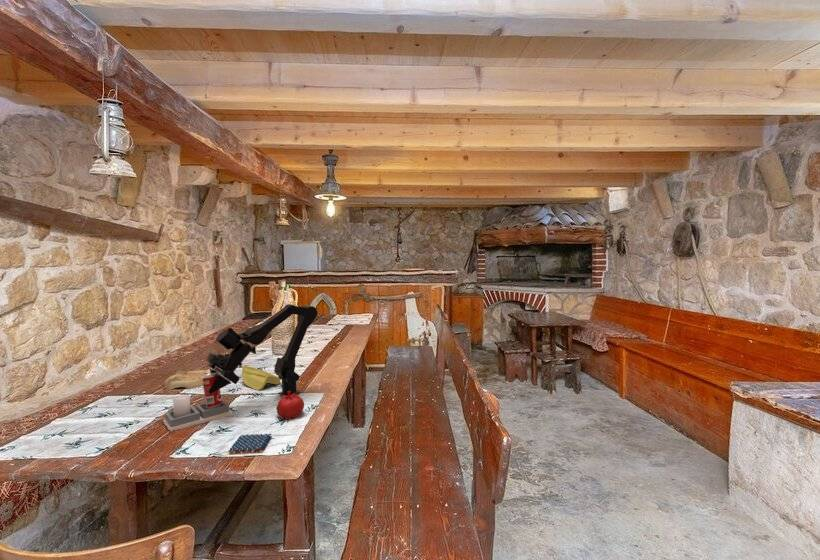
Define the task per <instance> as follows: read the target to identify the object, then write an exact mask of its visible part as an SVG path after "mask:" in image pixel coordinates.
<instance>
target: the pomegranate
mask: <svg viewBox="0 0 820 560" xmlns="http://www.w3.org/2000/svg"><path fill="white" fill-rule="evenodd" d="M290 392H291V391H288V392H287V393H288V396H284V395H279V397H280V400H279V401H278V402H277V405H276V413H277V416H279V417H280V418H282V419H287V420H289V419H293V418H296V417H297V416H298V417H299V415H301V413H302V412H303V411H304V408H305V401H304V399H303V398H302V397H301V395H299V394H295V393H294V394H295V395H294V394H293V395H290Z"/></svg>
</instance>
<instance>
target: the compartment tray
mask: <svg viewBox="0 0 820 560" xmlns="http://www.w3.org/2000/svg"><path fill="white" fill-rule="evenodd" d="M221 400H222V404H221V406H219V407H216V408H210V409H208V408H207V407H206V402H203V403H199V404H196V405H195V406H194V405H191V396H190V395H188V394H182V395H178V396H175V397H174V398H172V402H173V408H172V409H173V410H170V411H166V412H164V418H163V424H164V425H165V427H166V426H167V427H166V428H167V429H168V431H169V430H170V431H171V432H174V431H173V430H175V431H178V429H179V430H182V429H185V428H189V427H194V426H197V425H200V424H203V423H207V422H211V421H215V420H217V419H221V418H225V417H228V416H229V417H230V416H232V411H231V410H230V405H229V403H227V402H226V401H224V400H223V399H222V398H221ZM170 431H169V432H170Z"/></svg>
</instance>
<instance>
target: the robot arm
mask: <svg viewBox="0 0 820 560" xmlns="http://www.w3.org/2000/svg"><path fill="white" fill-rule="evenodd" d="M318 313H319V312H318V310H317V308H316V307H315V306H311V305H307V304H304V305H302V306H298V305H294V304H285V306H284V307H282V308H281V309H280V310H278V311H277V312H276V313H275V314H273V315H271V316H270V317H269V318H267V319H266V320H265V321H263V322H262V323H260V324H257V325H253V326H252V327H250V328H248V329H246V330H245V331H244V332H242V333H237V332H236V331H235V330H234V329H233V328H232V327H227V328H226V329H224V330H223V331H221V332H220V333H219V334H218V335H217V336H216V338H215V342H217V343H218V344H219V345H221V346H222V347H223V348H225V349H226V350H228V351H229V350H231V351H230V352H229V353H225V354H222V353H213V352H209V353H208V356H207V358H206V362H208V363H209V364H208V365H207V366H208V367H209V368H212V369H210V374H211V373H217V379H216V381H215V382H214V384H213V385H212V387H211V388H210V390H209V391H208V393H210V394H211V393H213V392H215V391H217V390H219V389H220V390H221V389H222V388H224V387H226V386H228V385H231V384H232V383H233V384H234V385H237V384H238V382H239V381H240V376H239V375H238V374H236V373H235V371H236V370H237V368H238V367H241V366H243V363H242V362H244V361H245V359H246V358H247V357H248V356H249V354H250V353H251V354H253V355H256V354H257V351H256V347H257V346H256V345H260V344H261V343H262V342H263V341H264V340H265V339H266V338H267V336H268V335H269V334H270V332H271V331H273V330H274V329H275V328H277V327H278V326H279V325H280V324H282V323H283V322H284V321H286V320H287V319H288V318H291V316H293V315H296V316H297V317H296V322H297V323H296V326H295V328H294V331H293V333H292V335H291V338H290V341H289V343H288V345H287V347H286V351H285V352H284V354H283V356H282V357H281V358H280V357H277V359H276V362H275V364H274V366H273V367H274V369H273V370H274V373H275V376H277V377H279V379H281V391H280V392H278V395H279V396H281V395H284V396H288V393H287V392H288V391H291V392H290V395H293V394H294V393H295V394H298V395H299V394H300V393H301V392H300V391H299V390H297V382H298V381H299V379H300V377H301V376H300V374H298V373H297V372H295V369H296V357H297V355H298V353H299V351H300V348H301V345H302V343H303V340H304V337H305V335H306V333H307V331H308V328H309V327H310V326H311V325H312V324H313V323H314V322H315V319H316V318H317V316H318ZM243 342H244V343H243ZM250 344H251V345H250ZM295 394H294V395H295ZM284 396H283V397H284Z"/></svg>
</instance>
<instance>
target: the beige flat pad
mask: <svg viewBox="0 0 820 560" xmlns="http://www.w3.org/2000/svg"><path fill="white" fill-rule="evenodd" d="M210 369H212V368H211V367H209V368H208V369H205V370H202V369H200V370H191V371H189V370H188V371H185V370H181V369H180V370H177V371H175V374H173V375H170V377H168V378H167V379H165V381H164V383H163V385H164V389H165V390H173V389H176V388H187V389H196V387H197V388H202V387H201V386H203V376H204V375H207V374H210ZM203 387H204V386H203Z"/></svg>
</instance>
